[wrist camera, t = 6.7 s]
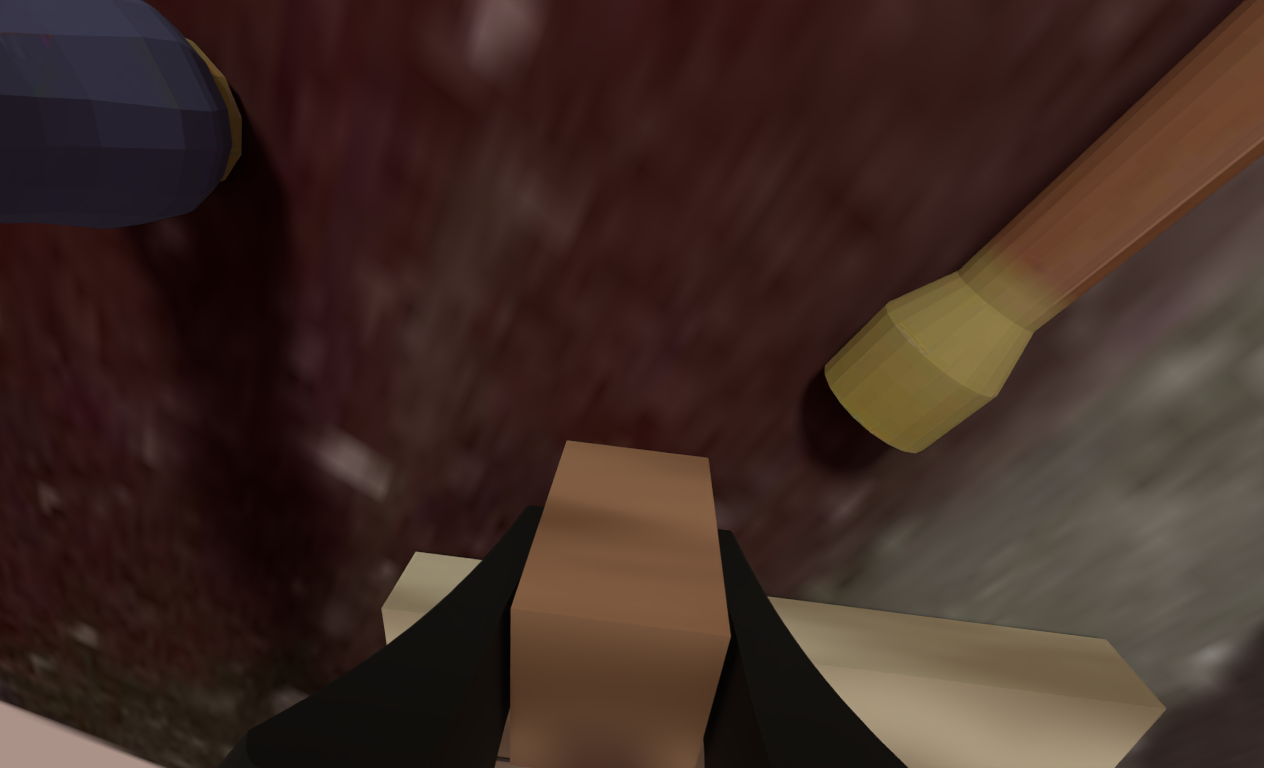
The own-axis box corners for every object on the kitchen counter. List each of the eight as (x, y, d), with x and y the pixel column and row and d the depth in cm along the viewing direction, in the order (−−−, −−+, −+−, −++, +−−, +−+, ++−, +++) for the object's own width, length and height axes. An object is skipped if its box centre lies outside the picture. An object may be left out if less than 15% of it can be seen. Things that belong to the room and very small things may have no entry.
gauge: (653, 731, 18) (647, 940, 13) (550, 718, 18) (509, 921, 13) (708, 457, 13) (730, 636, 8) (566, 440, 13) (510, 608, 8)
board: (970, 823, 19) (1002, 896, 17) (435, 754, 19) (411, 818, 18) (1106, 639, 15) (1167, 710, 13) (415, 551, 15) (380, 609, 13)
